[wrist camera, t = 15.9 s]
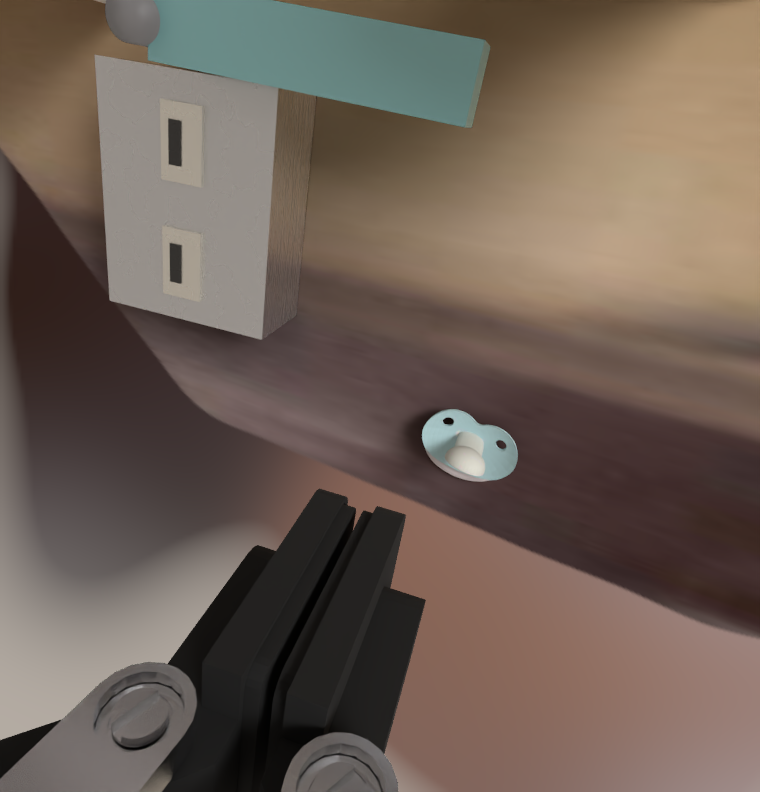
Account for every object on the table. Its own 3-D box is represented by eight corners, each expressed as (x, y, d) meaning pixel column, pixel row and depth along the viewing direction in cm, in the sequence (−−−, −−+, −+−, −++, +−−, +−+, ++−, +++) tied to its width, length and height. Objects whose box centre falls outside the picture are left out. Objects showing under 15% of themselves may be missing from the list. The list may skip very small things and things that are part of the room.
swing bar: (214, 71, 39) (106, 52, 29) (217, 8, 37) (103, -34, 28) (486, 128, 36) (462, 127, 26) (502, 62, 34) (482, 36, 25)
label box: (153, 64, 40) (87, 53, 34) (316, 92, 38) (275, 86, 32) (157, 281, 47) (104, 301, 41) (296, 315, 45) (259, 341, 39)
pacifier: (495, 489, 47) (528, 431, 44) (486, 539, 41) (522, 477, 38) (412, 452, 48) (438, 393, 44) (393, 496, 42) (421, 432, 39)
